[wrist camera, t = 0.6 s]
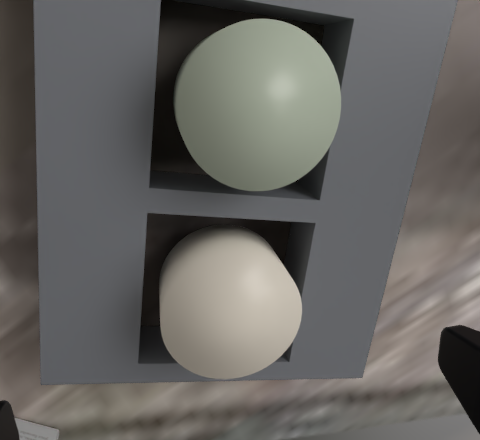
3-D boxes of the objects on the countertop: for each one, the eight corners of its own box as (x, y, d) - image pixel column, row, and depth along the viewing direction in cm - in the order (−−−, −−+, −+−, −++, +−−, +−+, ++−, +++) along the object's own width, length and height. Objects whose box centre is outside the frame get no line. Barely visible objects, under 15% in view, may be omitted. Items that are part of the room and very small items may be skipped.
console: (463, -210, 17) (524, -263, 14) (338, 342, 25) (362, 377, 22) (50, -338, 14) (24, -438, 11) (55, 343, 22) (40, 384, 19)
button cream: (289, 227, 20) (313, 256, 17) (270, 334, 22) (290, 377, 19) (163, 220, 19) (165, 250, 16) (154, 334, 20) (155, 380, 17)
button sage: (321, 37, 17) (356, 32, 14) (298, 175, 19) (324, 196, 16) (178, 15, 16) (185, 4, 13) (168, 165, 18) (170, 185, 15)
